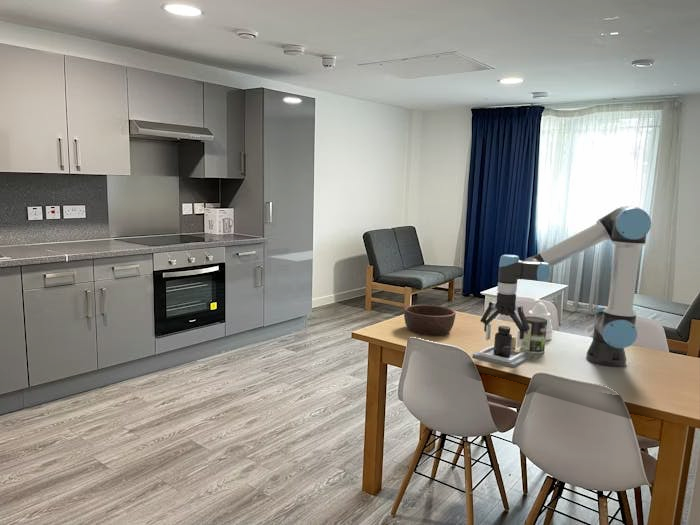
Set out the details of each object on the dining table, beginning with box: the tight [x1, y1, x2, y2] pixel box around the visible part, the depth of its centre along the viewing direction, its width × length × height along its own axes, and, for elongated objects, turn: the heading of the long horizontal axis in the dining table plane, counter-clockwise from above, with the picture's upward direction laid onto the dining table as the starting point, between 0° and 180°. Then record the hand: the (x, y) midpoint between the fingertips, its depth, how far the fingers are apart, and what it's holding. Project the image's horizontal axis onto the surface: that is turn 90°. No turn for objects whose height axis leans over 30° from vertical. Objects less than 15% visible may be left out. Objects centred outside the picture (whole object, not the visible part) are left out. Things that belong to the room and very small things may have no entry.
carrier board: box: [472, 335, 535, 368], centre depth 222 cm, size 18×20×7 cm
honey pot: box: [528, 298, 553, 341], centre depth 256 cm, size 13×13×18 cm
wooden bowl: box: [403, 304, 457, 337], centre depth 259 cm, size 25×25×10 cm
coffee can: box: [519, 315, 547, 355], centre depth 233 cm, size 10×10×14 cm
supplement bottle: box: [493, 325, 513, 357], centre depth 220 cm, size 7×7×12 cm
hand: (502, 343), depth 220 cm, fingers open, 13 cm apart
